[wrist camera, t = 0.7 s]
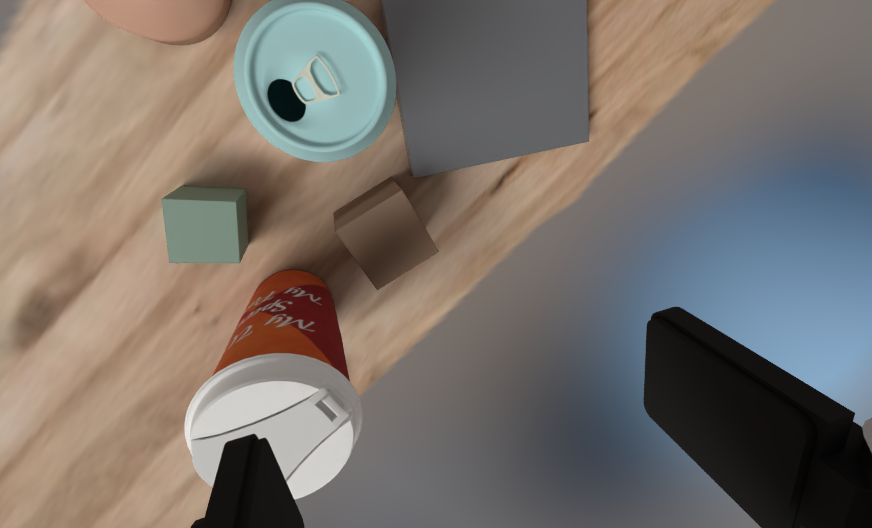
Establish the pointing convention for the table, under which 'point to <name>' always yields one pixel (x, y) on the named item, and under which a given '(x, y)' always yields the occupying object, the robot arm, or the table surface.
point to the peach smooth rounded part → (165, 18)
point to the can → (315, 78)
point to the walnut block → (383, 233)
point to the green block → (206, 224)
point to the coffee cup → (281, 386)
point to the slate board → (487, 78)
